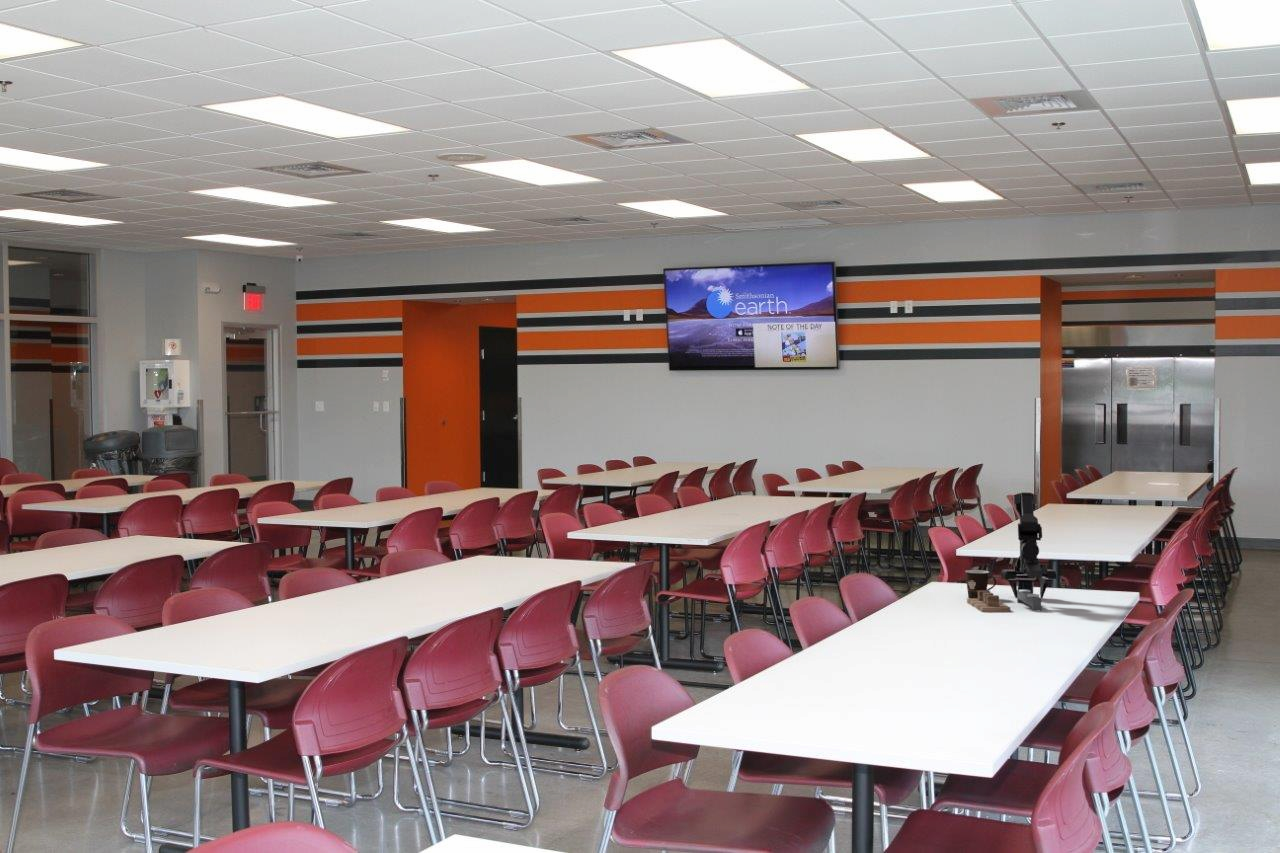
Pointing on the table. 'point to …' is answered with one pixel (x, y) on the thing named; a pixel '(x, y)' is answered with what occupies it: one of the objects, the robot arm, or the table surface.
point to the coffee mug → (977, 582)
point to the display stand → (988, 603)
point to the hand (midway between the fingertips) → (1028, 597)
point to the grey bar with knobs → (1029, 599)
